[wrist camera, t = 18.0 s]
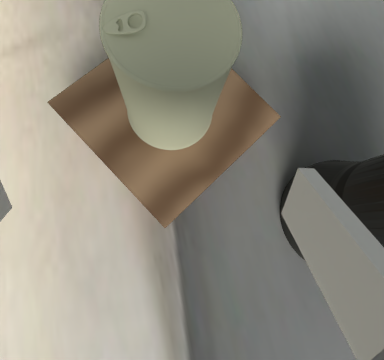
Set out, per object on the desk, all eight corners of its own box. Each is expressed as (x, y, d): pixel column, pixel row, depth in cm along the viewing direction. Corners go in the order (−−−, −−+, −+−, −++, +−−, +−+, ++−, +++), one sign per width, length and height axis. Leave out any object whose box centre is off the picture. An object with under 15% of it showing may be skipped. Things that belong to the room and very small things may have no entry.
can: (123, 76, 27) (88, -41, 15) (204, 69, 28) (230, -45, 16) (132, 155, 25) (103, 94, 14) (218, 145, 26) (259, 79, 15)
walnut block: (256, 140, 36) (280, 116, 28) (165, 227, 32) (164, 228, 24) (171, 56, 37) (173, 11, 29) (75, 131, 33) (47, 102, 25)
